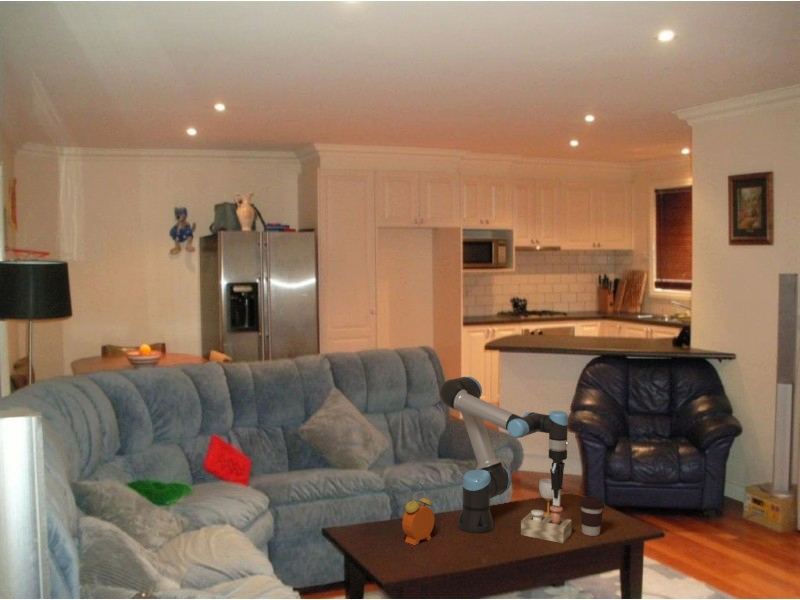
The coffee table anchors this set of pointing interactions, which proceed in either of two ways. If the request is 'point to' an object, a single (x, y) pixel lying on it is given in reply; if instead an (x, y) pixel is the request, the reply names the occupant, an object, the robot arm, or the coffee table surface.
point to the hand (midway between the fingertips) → (556, 504)
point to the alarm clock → (418, 521)
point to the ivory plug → (537, 514)
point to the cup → (546, 492)
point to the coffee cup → (591, 515)
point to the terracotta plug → (556, 514)
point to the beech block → (546, 528)
